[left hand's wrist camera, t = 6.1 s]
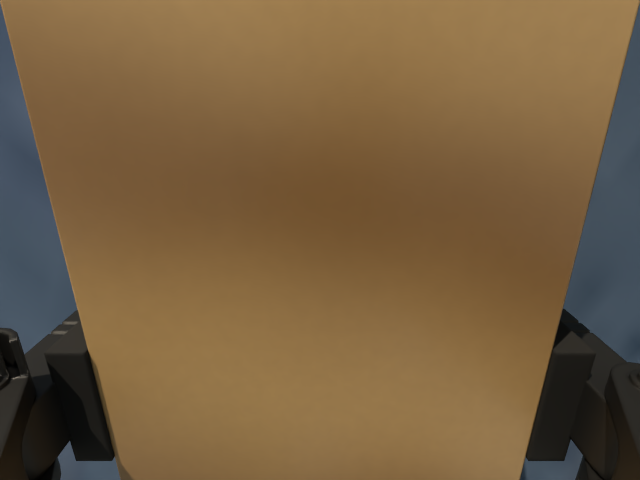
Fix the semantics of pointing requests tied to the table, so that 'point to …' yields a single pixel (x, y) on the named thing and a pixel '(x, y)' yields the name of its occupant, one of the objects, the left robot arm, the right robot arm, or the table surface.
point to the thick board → (320, 221)
